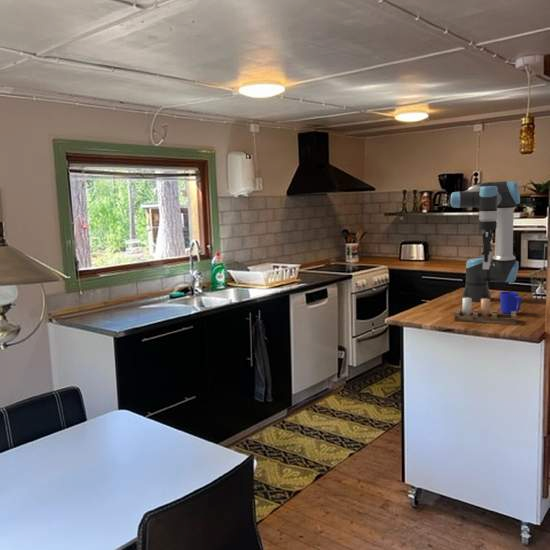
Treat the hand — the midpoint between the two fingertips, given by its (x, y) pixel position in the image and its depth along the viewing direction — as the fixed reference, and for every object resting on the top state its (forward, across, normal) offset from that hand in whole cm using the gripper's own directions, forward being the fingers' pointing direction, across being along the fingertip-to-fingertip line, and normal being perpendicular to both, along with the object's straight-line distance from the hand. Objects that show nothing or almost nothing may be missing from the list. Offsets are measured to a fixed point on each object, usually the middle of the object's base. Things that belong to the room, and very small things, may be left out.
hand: (486, 267), depth 247 cm
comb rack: (+25, 0, 0) cm, 25 cm away
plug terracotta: (+24, 0, 0) cm, 24 cm away
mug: (+25, -19, +11) cm, 33 cm away
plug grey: (+24, 0, -8) cm, 25 cm away
